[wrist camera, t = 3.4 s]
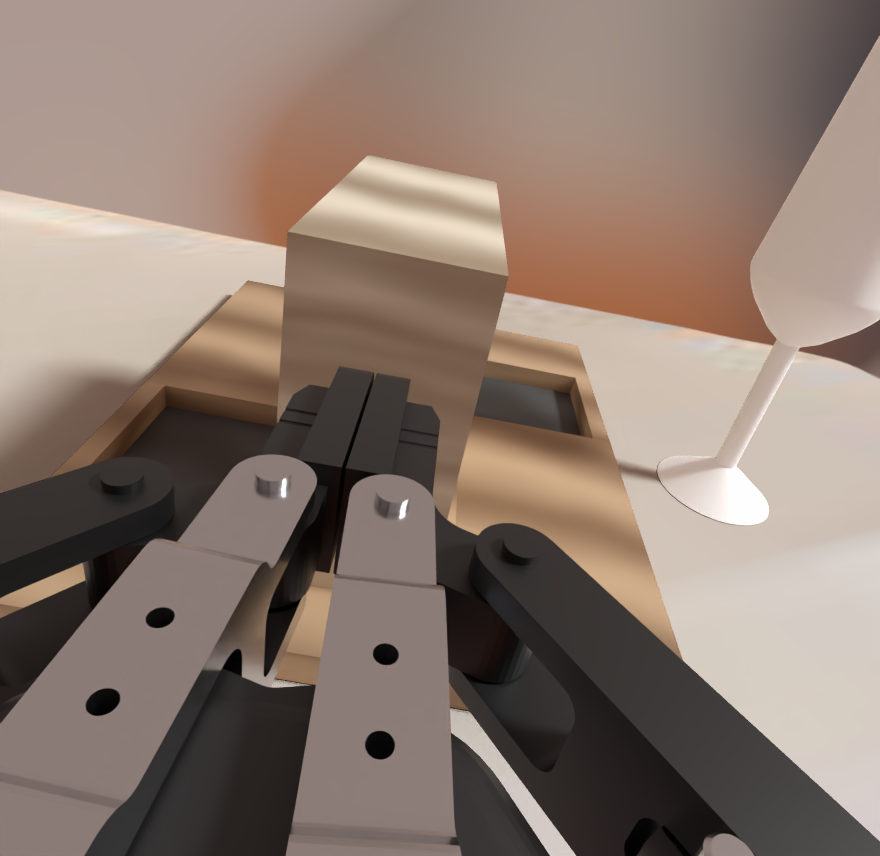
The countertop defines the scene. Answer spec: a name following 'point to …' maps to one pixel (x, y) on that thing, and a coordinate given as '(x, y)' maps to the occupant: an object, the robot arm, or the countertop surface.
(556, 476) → the trap deck
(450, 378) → the birch block
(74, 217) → the countertop surface
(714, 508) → the champagne flute
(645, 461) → the countertop surface
